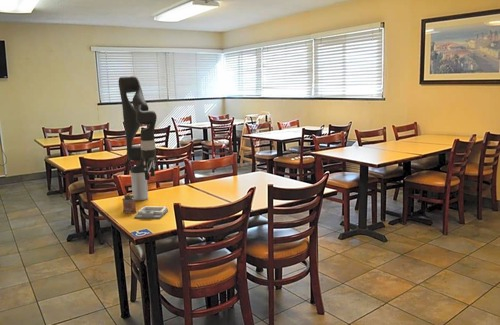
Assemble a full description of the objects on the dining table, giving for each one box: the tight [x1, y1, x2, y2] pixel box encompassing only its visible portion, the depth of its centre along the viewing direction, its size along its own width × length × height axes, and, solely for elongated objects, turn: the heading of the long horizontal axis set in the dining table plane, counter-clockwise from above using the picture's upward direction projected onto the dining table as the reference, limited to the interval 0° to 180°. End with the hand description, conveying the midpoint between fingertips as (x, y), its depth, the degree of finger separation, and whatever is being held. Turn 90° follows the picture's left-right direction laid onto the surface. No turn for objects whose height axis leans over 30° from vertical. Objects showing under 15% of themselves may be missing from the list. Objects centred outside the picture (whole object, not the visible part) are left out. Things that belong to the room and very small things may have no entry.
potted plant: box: [121, 193, 137, 214], centre depth 236 cm, size 8×3×10 cm, turn 69°
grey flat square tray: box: [134, 205, 169, 220], centre depth 231 cm, size 14×14×3 cm
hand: (150, 178), depth 230 cm, fingers open, 8 cm apart
